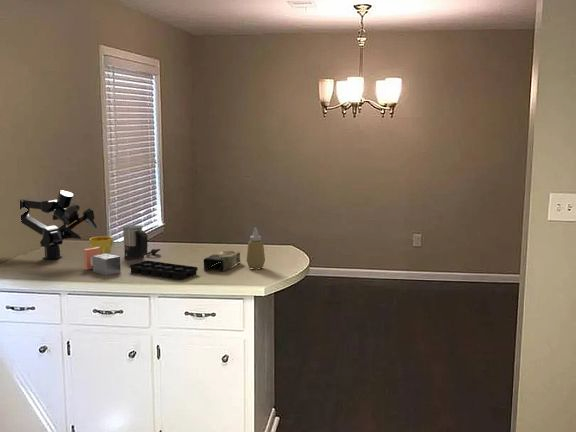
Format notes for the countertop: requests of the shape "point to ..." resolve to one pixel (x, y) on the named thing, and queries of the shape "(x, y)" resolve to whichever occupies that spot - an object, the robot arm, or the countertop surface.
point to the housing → (106, 264)
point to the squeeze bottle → (255, 251)
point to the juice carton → (222, 260)
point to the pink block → (90, 257)
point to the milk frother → (136, 242)
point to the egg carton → (163, 270)
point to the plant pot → (102, 243)
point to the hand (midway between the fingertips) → (88, 232)
